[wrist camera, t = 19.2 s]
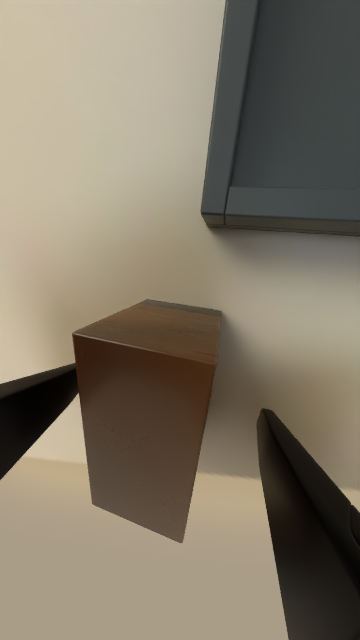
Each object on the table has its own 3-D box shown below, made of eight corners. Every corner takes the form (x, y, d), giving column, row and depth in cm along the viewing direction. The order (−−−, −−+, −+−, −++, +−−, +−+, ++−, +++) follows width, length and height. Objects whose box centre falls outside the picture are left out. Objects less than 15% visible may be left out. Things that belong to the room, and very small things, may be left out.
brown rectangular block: (221, 310, 9) (217, 363, 4) (200, 429, 11) (182, 544, 7) (146, 298, 9) (70, 332, 5) (143, 412, 12) (91, 505, 7)
